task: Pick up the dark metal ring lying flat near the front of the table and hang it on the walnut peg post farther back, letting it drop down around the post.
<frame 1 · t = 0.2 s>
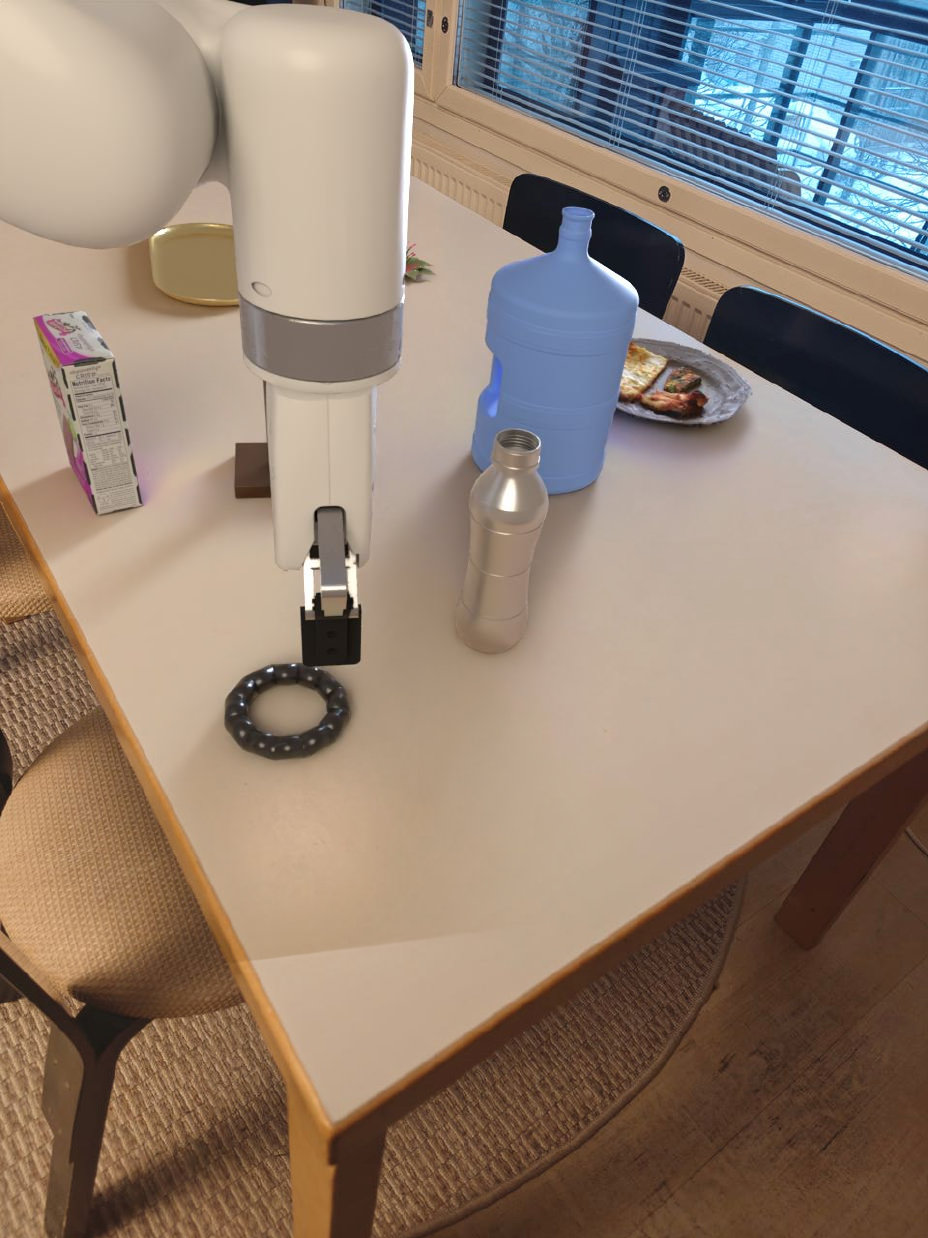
hand: (327, 605, 52), 18 cm above the table, tool pointing down, fingers open, 9 cm apart
serving platter: (212, 268, 139), on the table
candy bar box: (105, 487, 90), on the table
post: (278, 474, 95), on the table
water jug: (535, 463, 102), on the table
ring: (287, 709, 68), point 1 cm above the table
plastic bottle: (488, 638, 78), on the table
food plate: (656, 393, 120), on the table
lily flower: (402, 272, 146), on the table
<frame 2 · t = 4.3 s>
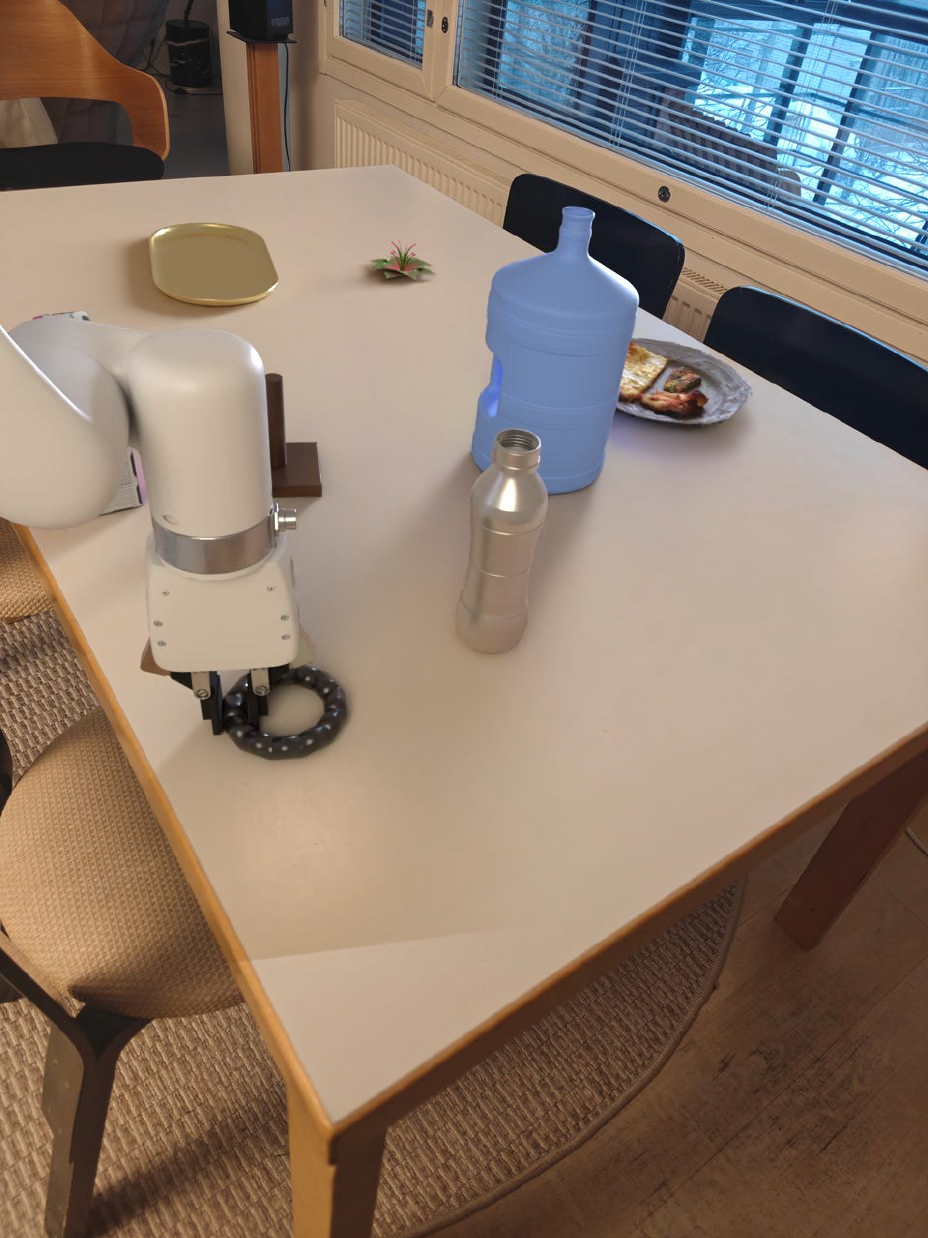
hand: (237, 719, 67), 0 cm above the table, tool pointing down, fingers closed on ring, 2 cm apart
ring: (285, 709, 68), point 1 cm above the table, touching gripper
everything else where it was.
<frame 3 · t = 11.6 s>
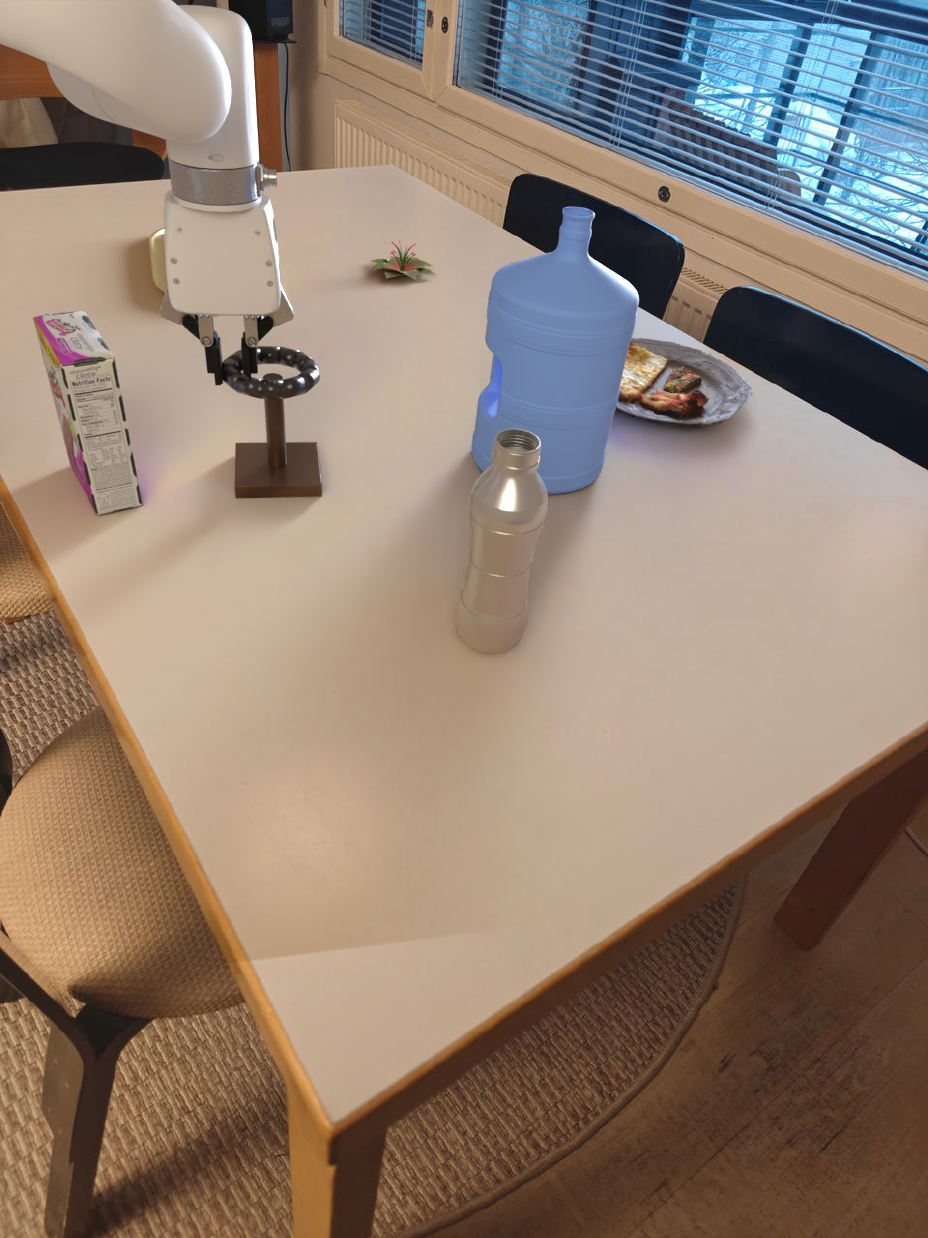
hand: (233, 377, 86), 11 cm above the table, tool pointing down, fingers closed on ring
ring: (271, 371, 87), point 12 cm above the table, touching gripper
everything else where it was.
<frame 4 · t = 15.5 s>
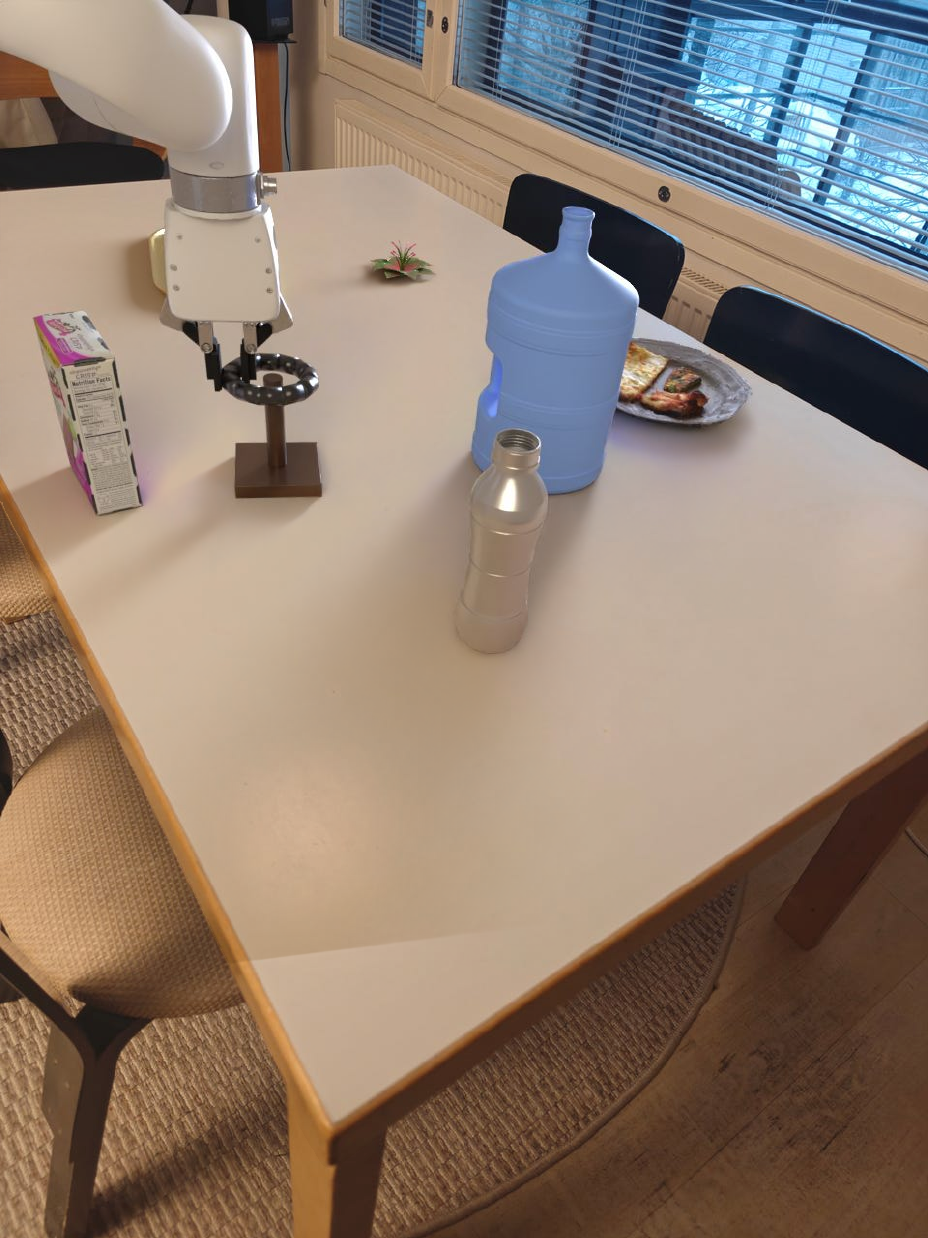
hand: (232, 384, 87), 11 cm above the table, tool pointing down, fingers closed on ring
ring: (270, 378, 87), point 11 cm above the table, touching gripper
everything else where it was.
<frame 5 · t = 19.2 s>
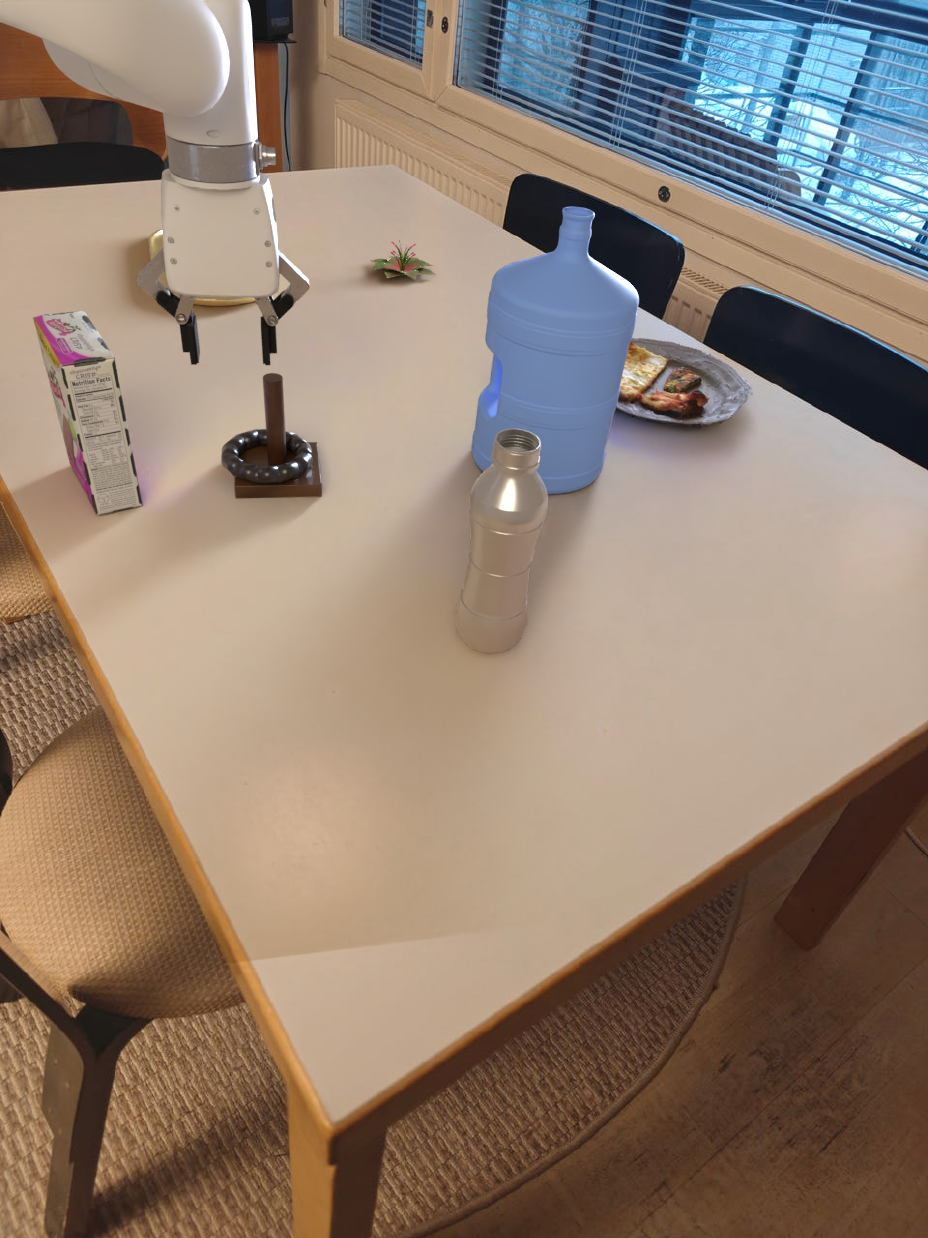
hand: (231, 357, 85), 14 cm above the table, tool pointing down, fingers open, 6 cm apart
ring: (267, 455, 93), point 2 cm above the table, touching post
everything else where it was.
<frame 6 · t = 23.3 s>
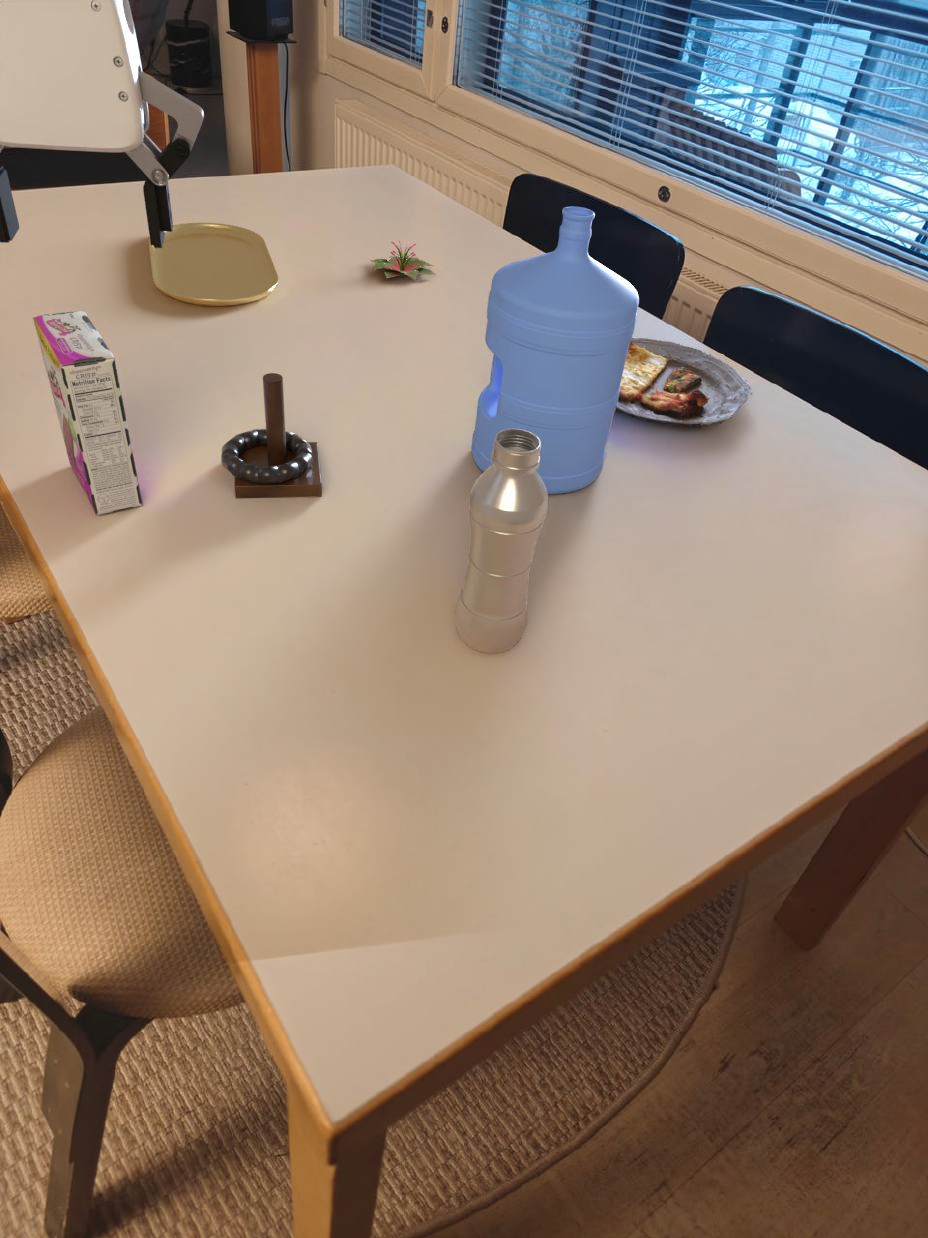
hand: (85, 238, 59), 30 cm above the table, tool pointing down, fingers open, 9 cm apart
nothing on the table moved.
at the end: ring 1.0 cm from the post (horizontally); ring point 2.4 cm above the table; the gripper is holding nothing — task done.
